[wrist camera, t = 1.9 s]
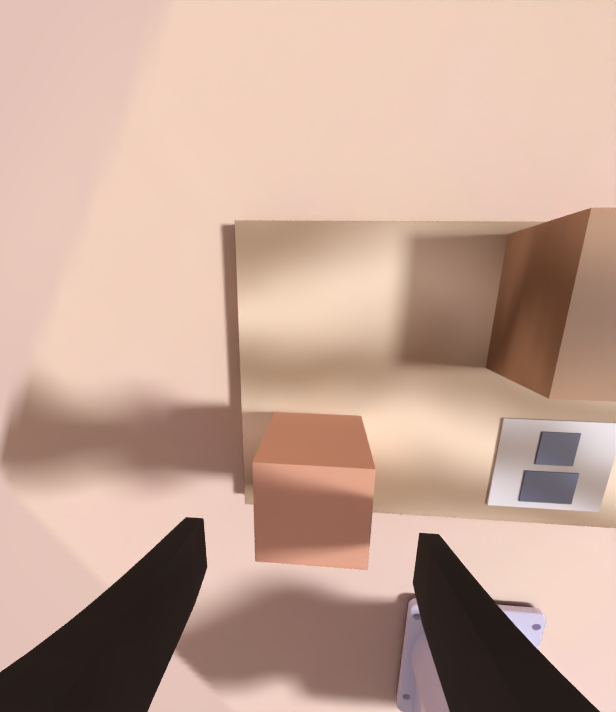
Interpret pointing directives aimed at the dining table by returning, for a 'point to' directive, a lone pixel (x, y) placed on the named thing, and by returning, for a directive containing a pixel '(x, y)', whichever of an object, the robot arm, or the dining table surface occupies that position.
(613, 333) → the base block
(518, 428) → the build board
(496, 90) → the dining table surface
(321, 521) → the top block
